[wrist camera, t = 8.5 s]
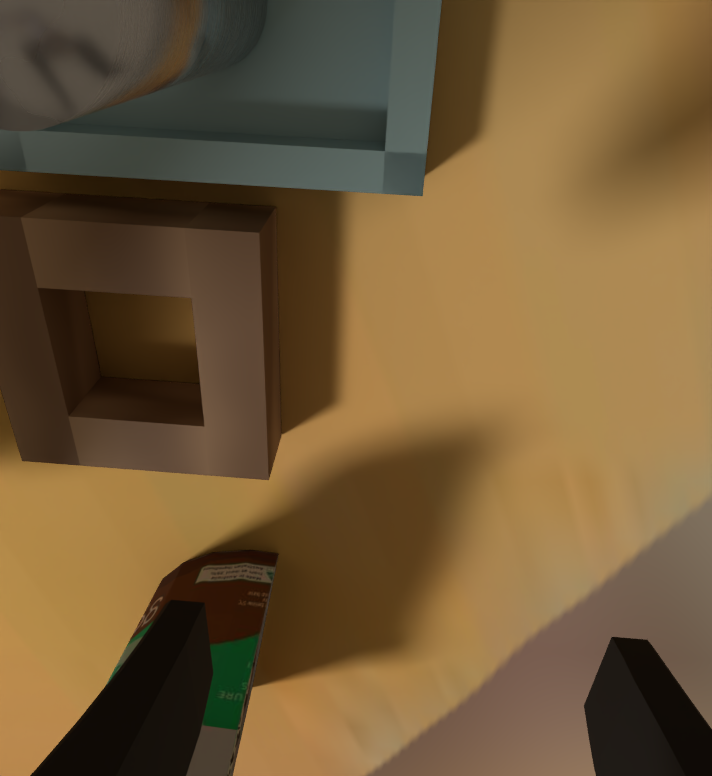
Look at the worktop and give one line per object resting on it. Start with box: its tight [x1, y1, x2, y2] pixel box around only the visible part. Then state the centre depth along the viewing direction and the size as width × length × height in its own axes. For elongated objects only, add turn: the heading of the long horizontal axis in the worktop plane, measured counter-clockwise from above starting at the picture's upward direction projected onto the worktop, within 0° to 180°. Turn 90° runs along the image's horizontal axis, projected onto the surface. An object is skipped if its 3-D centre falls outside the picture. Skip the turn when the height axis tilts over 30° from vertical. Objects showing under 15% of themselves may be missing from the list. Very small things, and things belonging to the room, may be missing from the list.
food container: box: [106, 550, 279, 776], centre depth 23 cm, size 12×6×10 cm, turn 168°
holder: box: [0, 190, 281, 480], centre depth 19 cm, size 8×8×2 cm
